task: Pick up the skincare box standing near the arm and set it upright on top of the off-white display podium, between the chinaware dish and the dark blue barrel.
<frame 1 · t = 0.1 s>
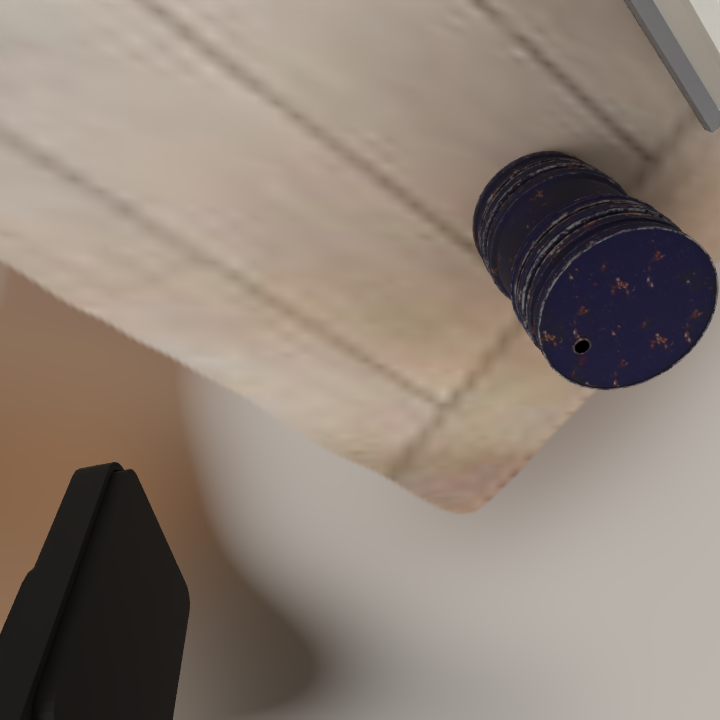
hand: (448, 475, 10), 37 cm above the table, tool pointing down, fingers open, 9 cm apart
dark blue barrel: (537, 218, 48), on the table
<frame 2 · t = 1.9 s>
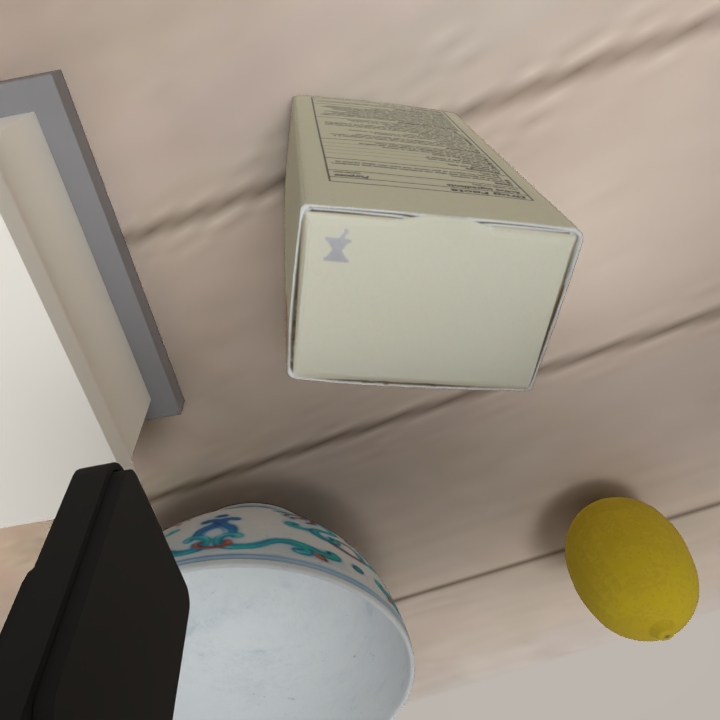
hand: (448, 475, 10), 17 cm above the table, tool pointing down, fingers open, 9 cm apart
chinaware: (253, 546, 35), on the table
lemon: (595, 502, 35), on the table
skincare box: (372, 160, 25), on the table
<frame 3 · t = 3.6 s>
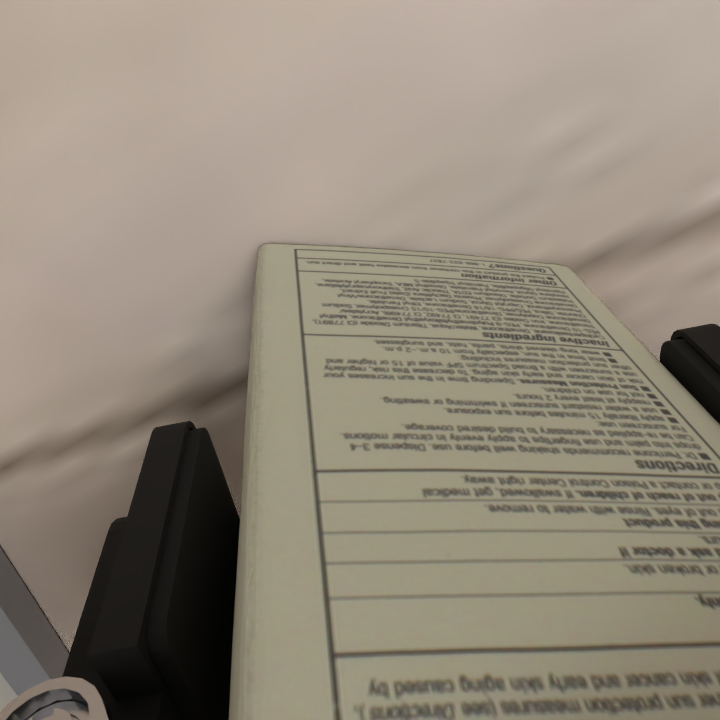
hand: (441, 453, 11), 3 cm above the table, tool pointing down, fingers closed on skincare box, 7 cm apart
skincare box: (409, 343, 14), on the table, touching gripper
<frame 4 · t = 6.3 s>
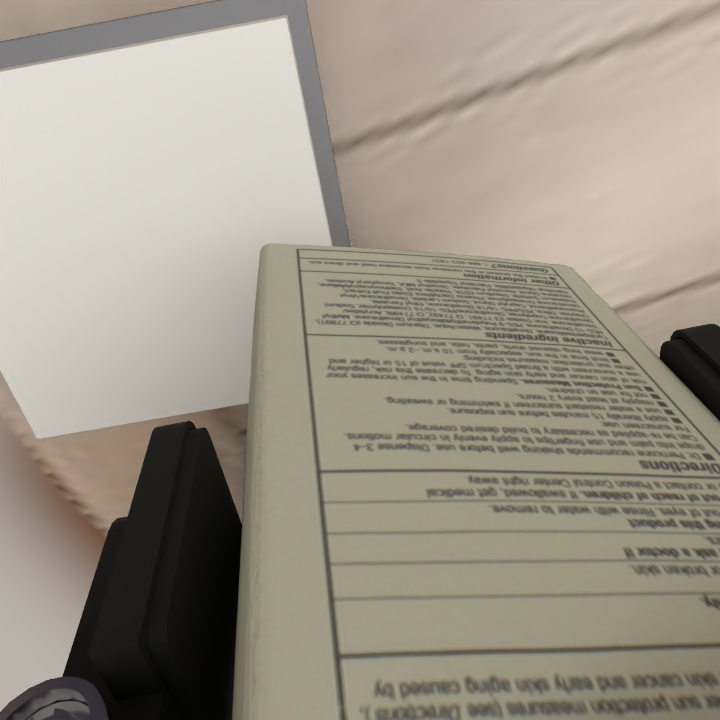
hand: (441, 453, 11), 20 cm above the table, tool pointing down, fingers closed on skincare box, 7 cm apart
display podium: (176, 197, 29), on the table
skincare box: (411, 343, 14), point 17 cm above the table, touching gripper
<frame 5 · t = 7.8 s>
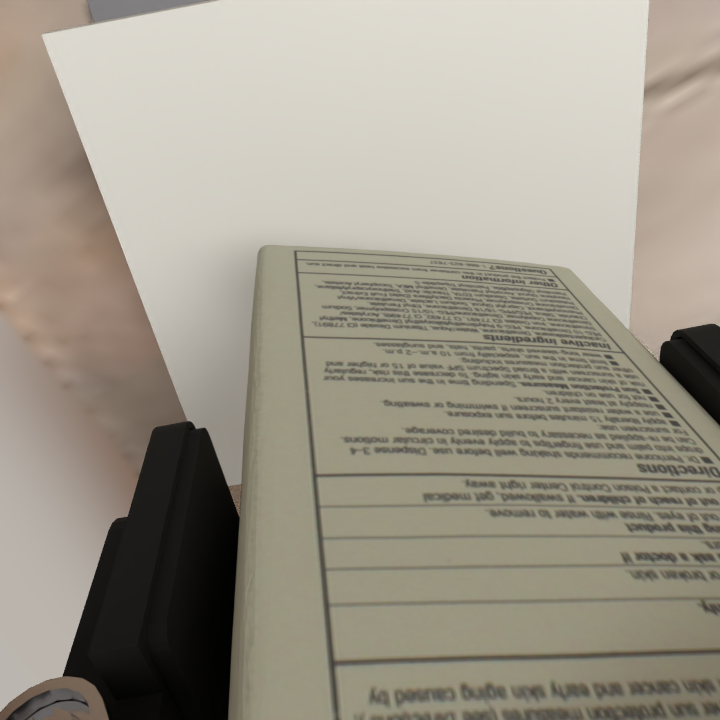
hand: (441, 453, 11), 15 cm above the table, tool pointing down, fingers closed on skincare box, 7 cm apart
display podium: (364, 182, 23), on the table
skincare box: (409, 345, 14), point 11 cm above the table, touching gripper
when the fingers open (12 cm above the table, at t = 8.9 s): skincare box drops 1 cm, resting on display podium.
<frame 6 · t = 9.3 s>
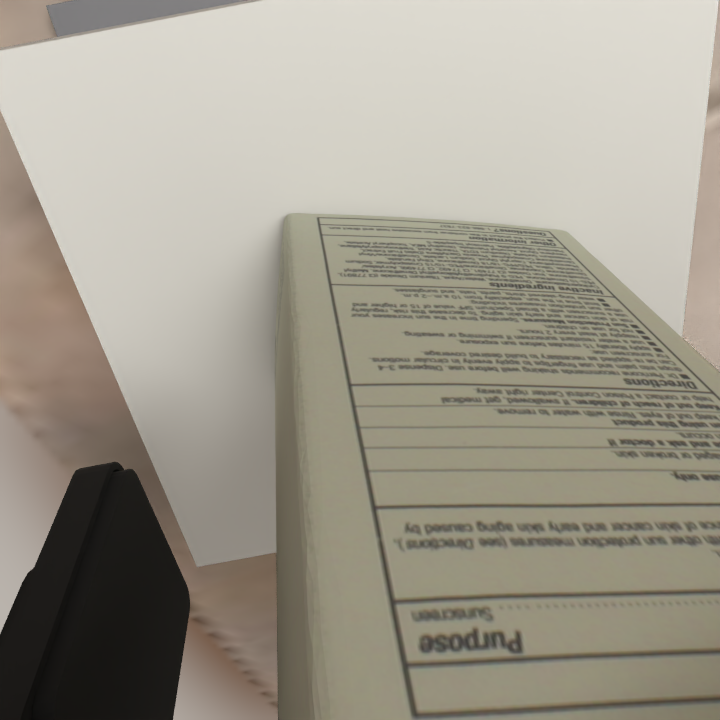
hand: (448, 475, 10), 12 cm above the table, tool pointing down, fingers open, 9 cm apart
display podium: (368, 212, 21), on the table
skincare box: (421, 306, 15), point 7 cm above the table, touching display podium
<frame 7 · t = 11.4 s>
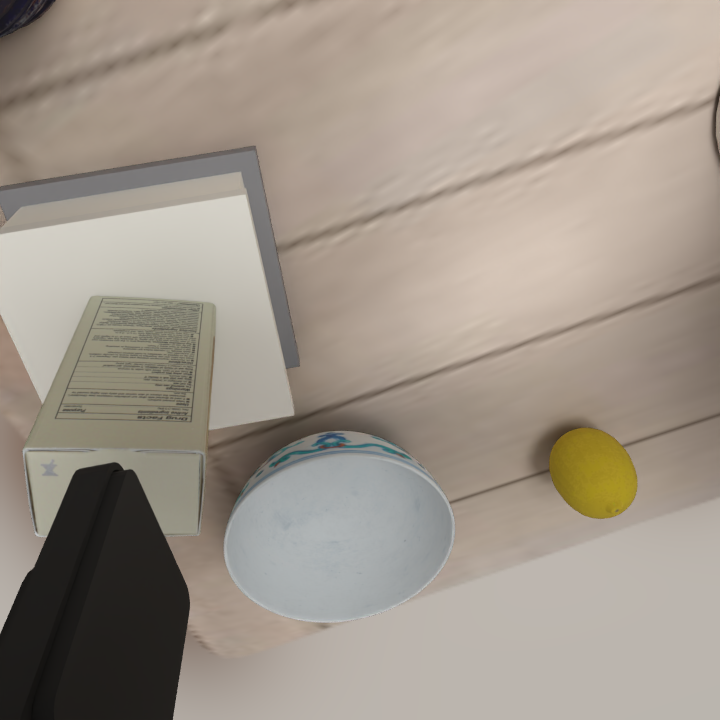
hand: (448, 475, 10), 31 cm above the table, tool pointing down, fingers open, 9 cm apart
display podium: (164, 280, 40), on the table
chinaware: (331, 466, 50), on the table
lemon: (568, 435, 51), on the table
skincare box: (158, 332, 34), point 7 cm above the table, touching display podium
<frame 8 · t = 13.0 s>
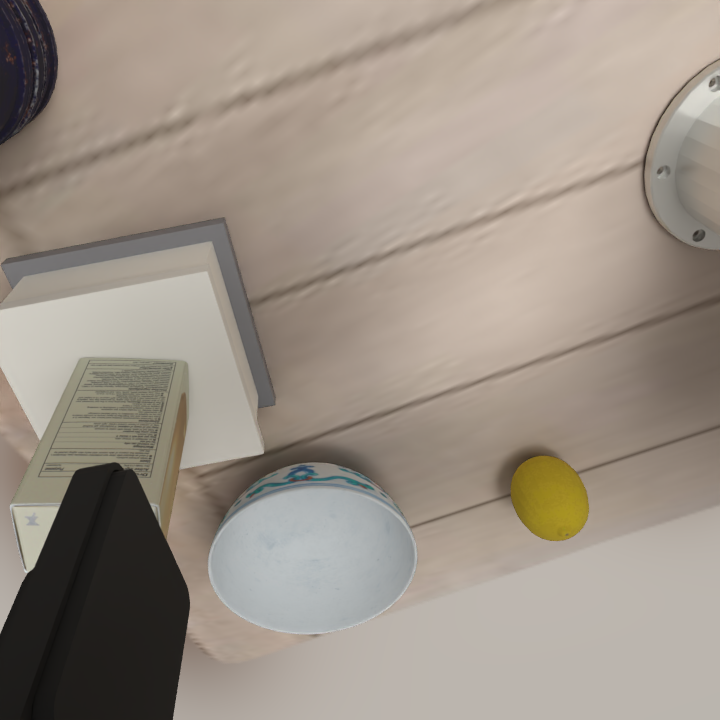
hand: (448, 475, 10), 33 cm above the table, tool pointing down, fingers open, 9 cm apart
display podium: (151, 333, 46), on the table
chinaware: (311, 491, 55), on the table
lemon: (531, 461, 55), on the table
skincare box: (139, 386, 40), point 7 cm above the table, touching display podium
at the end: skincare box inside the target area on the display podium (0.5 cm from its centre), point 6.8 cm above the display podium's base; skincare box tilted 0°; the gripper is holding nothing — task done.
